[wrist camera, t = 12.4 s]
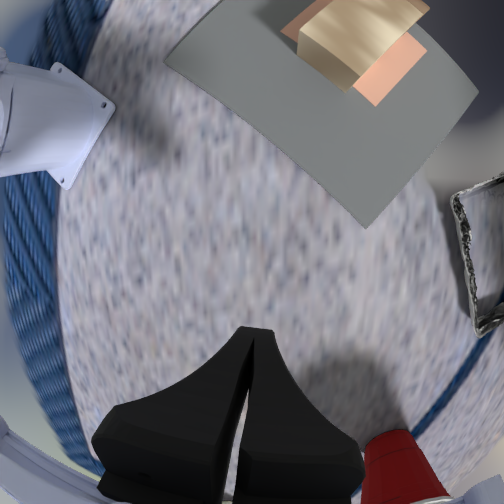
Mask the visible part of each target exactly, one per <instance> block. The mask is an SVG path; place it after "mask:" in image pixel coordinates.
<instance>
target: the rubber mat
mask: <svg viewBox="0 0 504 504" xmlns="http://www.w3.org/2000/svg"><path fill="white" fill-rule="evenodd" d="M332 1H333V0H224V1H222V2H221V3H220V4H219V5H218V6H217V7H216V8H215V9H214V10H213V11H211V12H210V13H209V14H208V15H207V16H206V17H205V18H204V19H203V20H202V21H201V22H200V23H199V24H198V25H197V26H196V27H195V28H194V29H193V30H192V31H191V32H190V33H189V34H188V35H187V36H186V37H185V38H184V40H183V41H182V42H181V43H180V44H179V45H178V46H177V47H176V48H175V49H174V51H173V52H172V53H171V54H170V55H169V56H168V57H167V59H166V60H165V61H164V62H163V63H165V64H166V65H167V66H169V67H171V68H172V69H174V70H175V71H177V72H178V73H180V74H181V75H183V76H184V77H186V78H187V79H189V80H190V81H191V82H193V83H194V84H196V85H197V86H199V87H200V88H202V89H203V90H204V91H206V92H207V93H209V94H210V95H211V96H213V97H214V98H215V99H217V100H218V101H220V102H221V103H222V104H224V105H225V106H226V107H228V108H229V109H230V110H232V111H233V112H234V113H236V114H237V115H238V116H239V117H241V118H242V119H243V120H245V121H246V122H247V123H248V124H250V125H251V126H252V127H253V128H255V129H256V130H257V131H258V132H260V133H261V134H262V135H263V136H265V137H266V138H267V139H268V140H270V141H271V142H272V143H273V144H274V145H276V146H277V147H278V148H279V149H280V150H281V151H283V152H284V153H285V154H286V155H287V156H288V157H290V158H291V159H292V160H293V161H294V162H295V163H296V164H298V165H299V166H300V167H301V168H302V169H303V170H304V171H306V172H307V173H308V174H309V175H310V176H311V177H312V178H313V179H314V180H315V181H317V182H318V183H319V184H320V185H321V186H322V187H323V188H324V189H325V190H326V191H327V192H328V193H329V194H330V195H332V196H333V197H334V198H335V199H336V200H337V201H338V202H339V203H340V204H341V205H342V206H343V207H344V208H345V209H346V210H347V211H348V212H349V213H350V214H351V215H352V216H353V217H354V218H355V219H356V220H357V221H358V222H359V223H360V224H361V225H362V226H363V227H364V228H365V229H367V228H368V226H369V225H370V224H371V223H372V222H373V221H374V220H375V219H376V218H377V217H378V216H379V214H380V213H381V212H382V211H383V210H384V209H385V208H386V207H387V206H388V205H389V203H390V202H391V201H392V200H393V199H394V198H395V197H396V196H397V194H398V193H399V192H400V191H401V190H402V189H403V188H404V186H405V185H406V184H407V183H408V182H409V181H410V179H411V178H412V177H413V176H414V175H415V174H416V172H417V171H418V170H419V169H420V168H421V166H422V165H423V164H424V163H425V162H426V160H427V159H428V158H429V157H430V156H431V154H432V153H433V152H434V151H435V149H436V148H437V147H438V146H439V144H440V143H441V142H442V141H443V139H444V138H445V137H446V135H447V134H448V133H449V132H450V130H451V129H452V128H453V127H454V125H455V124H456V123H457V121H458V120H459V119H460V117H461V116H462V115H463V113H464V112H465V111H466V109H467V108H468V107H469V105H470V104H471V102H472V101H473V100H474V98H475V97H476V96H477V94H478V93H479V91H478V89H477V88H476V87H475V86H474V85H473V83H472V82H471V81H470V79H469V78H468V77H467V76H466V74H465V73H464V72H463V71H462V70H461V68H460V67H459V66H458V65H457V64H456V63H455V62H454V60H453V59H452V58H451V57H450V56H449V55H448V54H447V53H446V52H445V51H444V50H443V49H442V48H441V47H440V46H439V44H438V43H436V41H434V40H433V39H432V38H431V37H430V36H429V35H428V34H427V33H426V32H425V31H424V30H423V29H422V28H421V27H420V26H419V25H418V24H417V23H415V24H414V25H413V26H412V27H411V28H410V29H409V30H408V31H407V32H406V33H405V34H404V35H403V36H401V37H400V38H399V39H398V40H397V41H396V42H395V43H394V44H393V45H392V46H391V47H390V48H389V49H388V50H387V51H386V52H385V53H384V54H383V55H382V56H381V57H380V58H379V59H378V60H377V61H376V62H375V63H374V64H373V65H372V66H371V67H370V68H369V69H368V70H367V71H366V72H365V73H364V74H363V75H362V77H361V78H360V79H359V80H358V81H357V82H356V83H355V84H354V85H353V86H352V87H351V88H350V89H349V90H348V91H347V92H346V93H344V92H343V91H342V90H341V89H339V88H338V87H337V86H336V85H335V84H333V83H332V82H331V81H330V80H329V79H327V78H326V77H325V76H324V75H322V74H321V73H320V72H318V71H317V70H316V69H315V68H313V67H312V66H311V65H309V64H308V63H307V62H305V61H304V60H303V59H301V58H300V57H298V56H297V46H298V36H299V29H301V28H302V27H303V26H304V25H305V24H306V23H307V22H308V21H310V20H311V19H312V18H313V17H314V16H315V15H316V14H318V13H319V12H320V11H321V10H322V9H324V8H325V7H326V6H327V5H328V4H330V3H331V2H332Z"/></svg>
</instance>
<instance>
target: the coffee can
mask: <svg viewBox="0 0 504 504" xmlns="http://www.w3.org/2000/svg"><path fill="white" fill-rule="evenodd" d="M222 504H232V501H222Z"/></svg>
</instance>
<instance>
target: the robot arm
mask: <svg viewBox="0 0 504 504" xmlns="http://www.w3.org/2000/svg"><path fill="white" fill-rule="evenodd" d="M8 61H9V60H8V58H7V57H6V51H5V49H3V48H2V47H0V177H3V176H9V175H15V174H21V173H28V172H35V171H42V170H47V171H48V173H49V174H50V175H51V176H52V177H53V178H54V179H55V180H56V181H57V182H58V183H59V184H60V186H61V187H62V188H63V189H65V190H67V189H70V188H71V186H72V184H73V182H74V180H75V178H76V176H77V174H78V172H79V170H80V169H81V167H82V165H83V163H84V161H85V159H86V157H87V156H88V154H89V152H90V150H91V149H92V147H93V145H94V143H95V142H96V140H97V138H98V137H99V135H100V133H101V132H102V130H103V128H104V127H105V125H106V124H107V122H108V120H109V119H110V117H111V116H112V114H113V113H114V111H115V104H114V103H112V102H111V101H110V100H109V99H107V98H106V97H105V96H103V95H102V94H101V93H100V92H98V91H97V90H96V89H94V88H93V87H92V86H90V85H89V84H88V83H86V82H85V81H84V80H83V79H81V78H80V77H79V76H77V75H76V74H75V73H73V72H72V71H71V70H69V69H68V68H67V67H65V66H64V65H62V64H61V63H59V62H55V63H54V64H53V66H52V67H51V69H50V71H48V70H44V69H40V68H36V67H32V66H27V65H22V64H18V63H13V62H8ZM61 70H62V71H61ZM105 103H106V107H105V108H104V104H105ZM63 178H64V182H63ZM248 389H249V393H248V409H247V414H246V419H245V424H244V429H243V434H242V438H241V443H240V448H239V457H238V466H237V476H236V485H235V490H234V495H233V501H232V504H351V495H352V493H353V492H354V491H355V490H356V489H357V488H358V487H359V486H360V484H361V483H362V482H363V480H364V479H365V477H366V471H365V464H364V460H363V457H362V454H361V452H360V449H359V446H358V444H357V442H356V441H355V440H353V439H352V438H350V437H349V436H348V435H346V434H345V433H343V432H342V431H340V430H339V429H338V428H336V427H335V426H334V425H333V424H332V423H330V422H329V421H328V420H327V419H326V418H325V417H324V416H323V415H322V414H321V413H320V412H319V411H318V410H317V409H316V408H315V407H314V406H313V405H312V404H311V403H310V401H309V400H308V399H307V398H306V396H305V395H304V394H303V392H302V391H301V390H300V388H299V387H298V385H297V384H296V382H295V381H294V379H293V377H292V376H291V374H290V372H289V370H288V369H287V367H286V365H285V362H284V360H283V358H282V356H281V354H280V351H279V349H278V346H277V343H276V339H275V335H274V332H273V331H272V330H269V329H260V328H252V327H244V326H240V327H239V328H238V329H237V330H236V332H235V333H234V334H233V336H232V337H231V338H230V339H229V340H228V342H227V343H226V344H225V345H224V346H223V347H222V348H221V349H220V350H219V351H218V352H217V353H216V354H215V355H214V356H213V357H212V358H210V359H209V360H208V361H207V362H206V363H205V364H204V365H202V366H201V367H200V368H198V369H197V370H196V371H194V372H193V373H192V374H190V375H189V376H187V377H186V378H184V379H182V380H181V381H179V382H177V383H175V384H174V385H172V386H170V387H168V388H166V389H164V390H162V391H159V392H157V393H155V394H152V395H150V396H147V397H144V398H141V399H138V400H135V401H131V402H127V403H124V404H120V405H115V406H114V407H113V408H112V410H111V411H110V412H109V413H108V414H107V415H106V417H105V418H104V419H103V421H102V422H101V424H100V425H99V427H98V429H97V430H96V432H95V433H94V435H93V436H92V439H91V443H92V446H93V448H94V451H95V453H96V454H97V456H98V458H99V459H100V461H101V463H102V464H103V466H104V467H105V469H106V471H105V472H104V474H103V476H102V478H101V480H100V482H98V481H96V480H94V479H92V478H90V477H88V476H86V475H84V474H82V473H79V472H78V471H76V470H73V469H72V468H70V467H68V466H66V465H64V464H63V463H61V462H59V461H57V460H56V459H54V458H52V457H51V456H49V455H47V454H45V453H44V452H42V451H41V450H39V449H38V448H36V447H35V446H33V445H31V444H30V443H29V442H27V441H26V440H24V439H23V438H21V437H20V436H18V435H17V434H16V433H14V432H13V431H12V430H10V429H9V427H8V425H7V423H6V422H5V420H4V419H3V418H2V417H1V415H0V488H1V489H2V490H4V491H5V492H6V493H7V494H8V495H10V496H11V497H12V498H13V499H14V500H16V501H17V502H18V503H20V504H222V500H223V495H224V489H225V484H226V479H227V473H228V468H229V463H230V458H231V452H232V447H233V442H234V437H235V433H236V429H237V426H238V423H239V419H240V416H241V413H242V409H243V406H244V403H245V399H246V396H247V392H248ZM441 504H504V483H503V480H502V478H501V476H500V474H499V475H496V476H494V477H491V478H489V479H487V480H485V481H482V482H480V483H478V484H477V485H475V486H473V487H472V488H471V489H469V490H468V491H467V492H466V493H465V494H464V495H463V496H461V497H459V498H456V499H453V500H450V501H447V502H444V503H441Z"/></svg>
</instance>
